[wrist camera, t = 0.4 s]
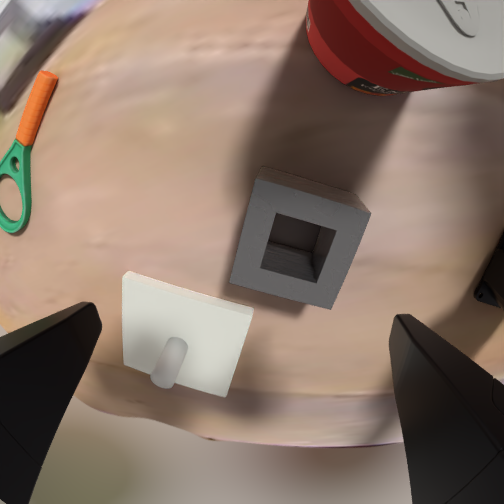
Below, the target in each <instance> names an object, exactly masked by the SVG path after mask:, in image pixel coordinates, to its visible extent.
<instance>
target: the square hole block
mask: <svg viewBox="0 0 504 504" xmlns="http://www.w3.org/2000/svg"><path fill="white" fill-rule="evenodd" d="M276 213H279V214H282V215H286V216H289V217H293V218H296V219H300V220H303V221H307V222H310V223H314V224H317V225H320V226H322V227H321V230H320V233H319V235H318V238H317V241H316V244H315V247H314V249H313V252H312V253H310V252H307V251H303V250H300V249H296V248H293V247H289V246H286V245H282V244H278V243H275V242H271V241H268V239H269V235H270V232H271V228H272V225H273V222H274V218H275V215H276ZM370 216H371V212H370V211H369V210H368V209H367V207H366V206H365V205H364V204H363V203H362V201H361V200H360V199H359V198H358V197H357V195H356V194H353V193H350V192H347V191H344V190H341V189H338V188H335V187H332V186H329V185H326V184H322V183H319V182H316V181H313V180H309V179H306V178H303V177H299V176H296V175H292V174H289V173H285V172H282V171H278V170H275V169H271V168H267V167H264V166H262V168H261V170H260V171H259V173H258V175H257V177H256V179H255V183H254V186H253V190H252V194H251V198H250V202H249V206H248V210H247V213H246V217H245V221H244V225H243V229H242V233H241V237H240V241H239V245H238V249H237V253H236V257H235V261H234V265H233V269H232V273H231V277H230V281H229V283H231V284H235V285H239V286H242V287H246V288H249V289H253V290H257V291H260V292H264V293H268V294H272V295H275V296H279V297H283V298H287V299H291V300H294V301H298V302H302V303H306V304H310V305H314V306H318V307H322V308H326V309H330V310H331V308H332V306H333V304H334V302H335V300H336V298H337V295H338V293H339V291H340V289H341V286H342V284H343V282H344V280H345V277H346V275H347V273H348V270H349V268H350V266H351V263H352V261H353V258H354V256H355V254H356V251H357V249H358V246H359V244H360V241H361V239H362V236H363V234H364V231H365V229H366V226H367V223H368V221H369V218H370Z"/></svg>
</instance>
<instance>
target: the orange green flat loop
mask: <svg viewBox="0 0 504 504" xmlns="http://www.w3.org/2000/svg"><path fill="white" fill-rule="evenodd" d="M57 80H58V77H57V76H56V75H54V74H52V73H51V72H48V71H42V70H41V71H40V72H39V74H38V76H37V78H36V81H35V83H34V86H33V88H32V91H31V93H30V96H29V99H28V101H27V104H26V107H25V110H24V113H23V116H22V119H21V122H20V125H19V128H18V131H17V134H16V139H15V140H14V142H13V144H12V146H11V147H10V148H9V150H8V151H7V153H6V154H5V156H4V157H3V159H2V160H1V162H0V178H1V177H2V175H3V174H8V175H10V176H11V177H12V178H13V179H14V180H15V182H16V183H17V185H18V187H19V190H20V193H21V197H22V204H23V210H22V215H21V218H20V220H19V221H13V220H10V219H9V218H8V217H7V216H6V215H5V214H4V212H3V210H2V208H1V206H0V227H1V228H2V229H3V230H4V231H6V232H8V233H14V232H17V231H19V230H20V229H22V228H23V227H24V226H25V225H26V223H27V222H28V219H29V217H30V213H31V203H32V200H31V173H30V153H31V147H32V144H33V142H34V139H35V136H36V133H37V130H38V127H39V124H40V121H41V119H42V116H43V113H44V111H45V108H46V106H47V103H48V101H49V98H50V96H51V93H52V91H53V89H54V86H55V84H56V82H57ZM16 158H17V159H18V161H19V165H20V167H19V170H18V169H17V168H16V164H15V161H16Z"/></svg>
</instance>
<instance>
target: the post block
mask: <svg viewBox="0 0 504 504" xmlns="http://www.w3.org/2000/svg"><path fill="white" fill-rule="evenodd" d="M253 310H254V308H252V307H248V306H245V305H241V304H237V303H234V302H230V301H227V300H223V299H220V298H216V297H213V296H209V295H206V294H202V293H199V292H195V291H192V290H189V289H185V288H182V287H179V286H175V285H172V284H169V283H166V282H162V281H159V280H156V279H153V278H150V277H147V276H144V275H140V274H137V273H134V272H131V271H127V273H126V274H125V275H124V276H123V280H122V334H123V359H124V365H126V366H129V367H131V368H134V369H136V370H139V371H142V372H145V373H147V374H150V379H151V381H152V382H153V383H154V384H155V385H157V386H159V387H161V388H165V389H169V388H171V387H173V385H174V383H177V384H180V385H183V386H186V387H190V388H193V389H196V390H200V391H203V392H207V393H210V394H214V395H218V396H221V397H225V398H226V396H227V393H228V390H229V387H230V384H231V381H232V377H233V374H234V371H235V368H236V365H237V362H238V359H239V356H240V353H241V350H242V347H243V344H244V341H245V338H246V335H247V331H248V328H249V325H250V322H251V319H252V316H253Z"/></svg>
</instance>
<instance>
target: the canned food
mask: <svg viewBox="0 0 504 504" xmlns="http://www.w3.org/2000/svg"><path fill="white" fill-rule="evenodd" d="M306 32H307V36H308V40H309V43H310V45H311V47H312V50H313V52H314V54H315V55H316V57H317V58H318V60H319V61H320V63H321V64H322V65H323V66H324V67H325V68H326V69H327V71H328V72H329V73H330V74H331V75H333V76H334V77H335V78H336V79H338V80H339V81H340V82H342V83H343V84H345V85H347V86H349V87H351V88H352V89H354V90H357V91H360V92H363V93H366V94H371V95H378V96H385V95H395V94H401V93H407V92H414V91H421V90H428V89H435V88H444V87H452V86H462V85H469V84H476V83H485V82H492V81H498V80H500V79H503V78H504V0H309V2H308V8H307V15H306Z"/></svg>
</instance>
